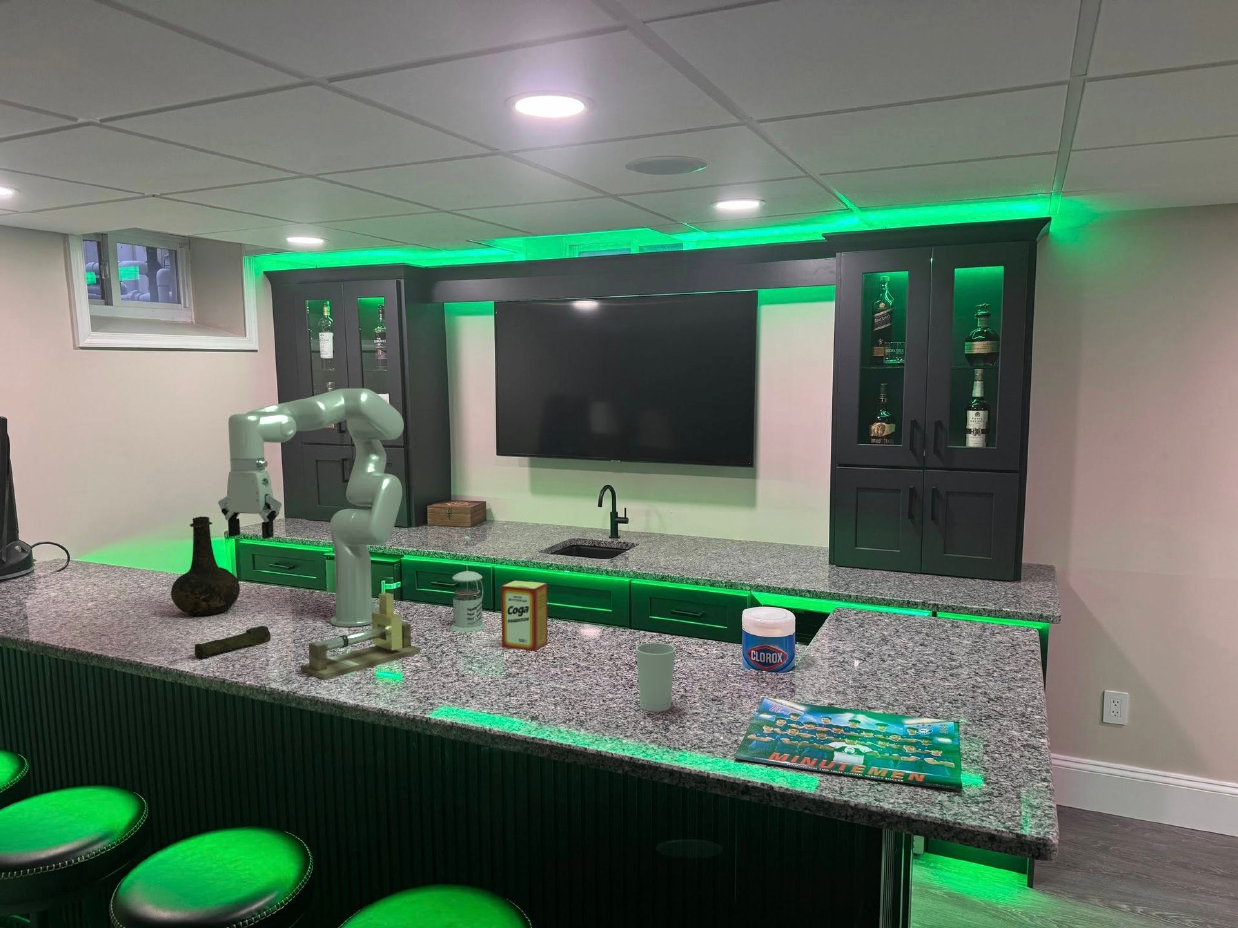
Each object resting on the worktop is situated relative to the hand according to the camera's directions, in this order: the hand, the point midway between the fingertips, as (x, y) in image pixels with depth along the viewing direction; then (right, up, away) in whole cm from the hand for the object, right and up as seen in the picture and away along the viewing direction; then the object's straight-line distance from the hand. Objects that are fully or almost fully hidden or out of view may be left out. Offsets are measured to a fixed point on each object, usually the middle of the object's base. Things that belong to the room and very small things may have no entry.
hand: (251, 536), depth 204 cm
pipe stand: (+27, -30, -2) cm, 40 cm away
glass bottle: (-32, -26, +44) cm, 60 cm away
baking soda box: (+64, -29, +11) cm, 71 cm away
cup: (+96, -32, -30) cm, 105 cm away
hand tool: (-8, -29, +8) cm, 31 cm away
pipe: (+27, -25, -2) cm, 37 cm away
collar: (+32, -27, +3) cm, 42 cm away
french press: (+47, -27, +30) cm, 62 cm away
